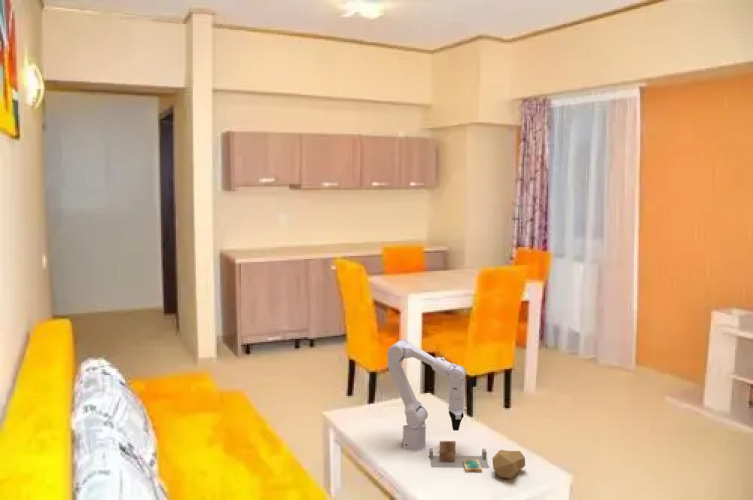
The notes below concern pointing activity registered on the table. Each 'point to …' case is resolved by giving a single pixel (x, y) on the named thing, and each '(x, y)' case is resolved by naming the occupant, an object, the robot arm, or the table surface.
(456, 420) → the robot arm
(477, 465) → the oak tile
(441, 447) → the walnut tile
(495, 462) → the low-poly potato
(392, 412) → the table surface
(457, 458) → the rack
